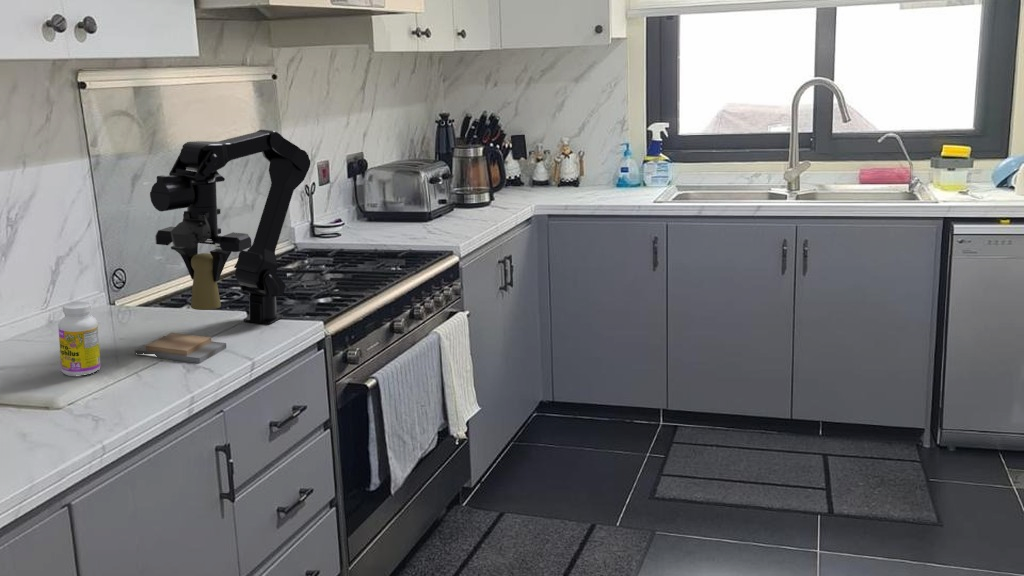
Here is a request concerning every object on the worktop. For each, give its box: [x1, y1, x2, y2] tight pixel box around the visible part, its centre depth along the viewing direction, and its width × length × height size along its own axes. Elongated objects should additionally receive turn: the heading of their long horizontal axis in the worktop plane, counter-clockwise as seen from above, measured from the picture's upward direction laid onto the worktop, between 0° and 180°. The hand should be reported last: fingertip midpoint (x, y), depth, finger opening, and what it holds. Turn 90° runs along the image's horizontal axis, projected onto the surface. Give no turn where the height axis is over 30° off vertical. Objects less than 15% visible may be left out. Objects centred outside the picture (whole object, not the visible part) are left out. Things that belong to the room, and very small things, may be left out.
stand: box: [134, 332, 227, 364], centre depth 195 cm, size 10×14×2 cm
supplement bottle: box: [57, 301, 101, 377], centre depth 180 cm, size 7×7×13 cm
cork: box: [190, 252, 222, 311], centre depth 202 cm, size 6×6×11 cm
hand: (204, 280), depth 202 cm, fingers closed on cork, 5 cm apart
